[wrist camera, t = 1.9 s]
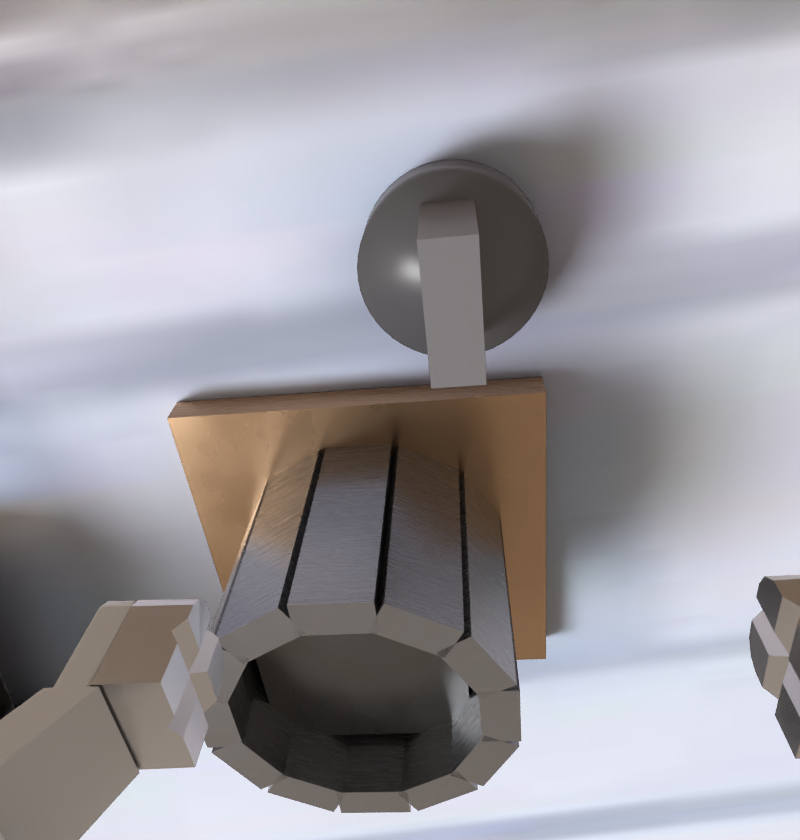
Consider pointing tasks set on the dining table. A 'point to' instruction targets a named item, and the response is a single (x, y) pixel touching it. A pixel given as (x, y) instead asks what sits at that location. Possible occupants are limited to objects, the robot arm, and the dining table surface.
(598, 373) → the dining table surface
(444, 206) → the rotary knob
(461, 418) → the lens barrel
